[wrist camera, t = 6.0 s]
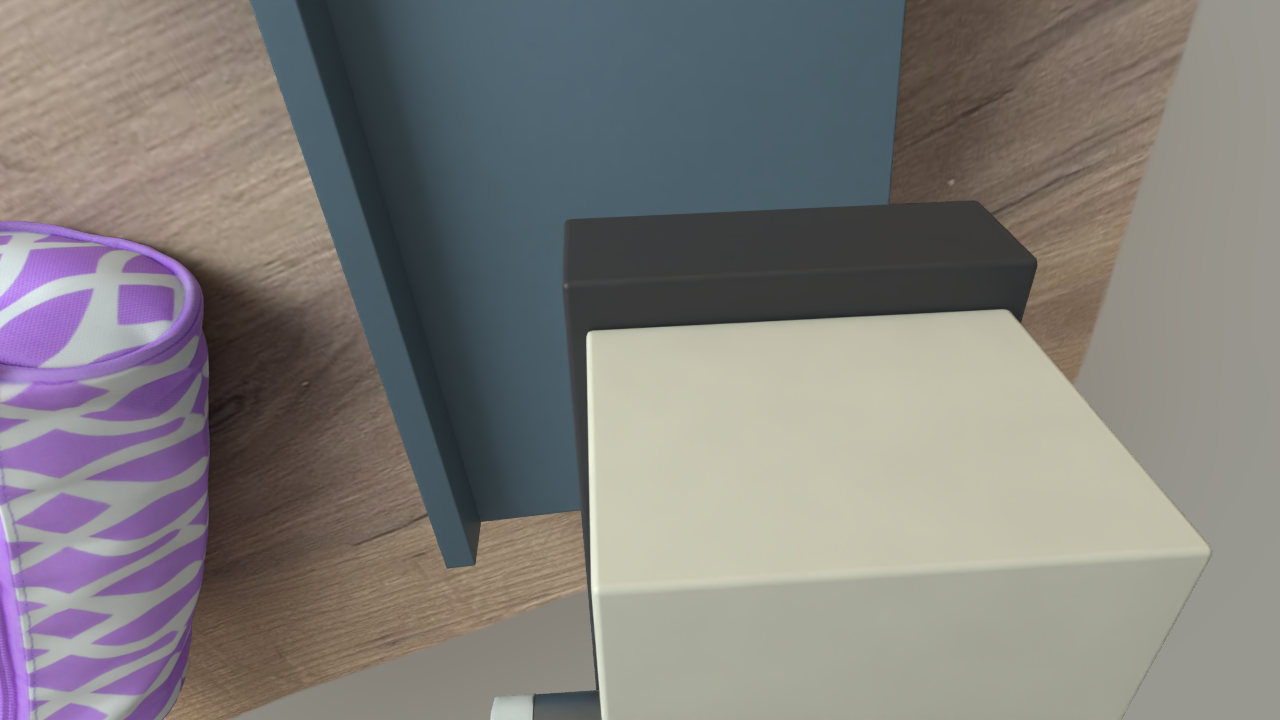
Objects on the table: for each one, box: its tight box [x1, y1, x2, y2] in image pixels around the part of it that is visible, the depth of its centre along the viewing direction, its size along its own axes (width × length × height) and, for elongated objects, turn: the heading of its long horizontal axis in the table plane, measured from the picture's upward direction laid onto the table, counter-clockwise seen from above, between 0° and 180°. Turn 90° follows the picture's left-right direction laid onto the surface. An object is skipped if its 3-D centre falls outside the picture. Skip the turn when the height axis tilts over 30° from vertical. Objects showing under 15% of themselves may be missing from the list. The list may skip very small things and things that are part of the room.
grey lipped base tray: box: [250, 0, 906, 568], centre depth 24 cm, size 15×24×8 cm, turn 6°
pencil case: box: [0, 221, 210, 720], centre depth 30 cm, size 22×9×10 cm, turn 164°
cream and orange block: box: [562, 200, 1212, 720], centre depth 10 cm, size 12×5×5 cm, turn 1°
